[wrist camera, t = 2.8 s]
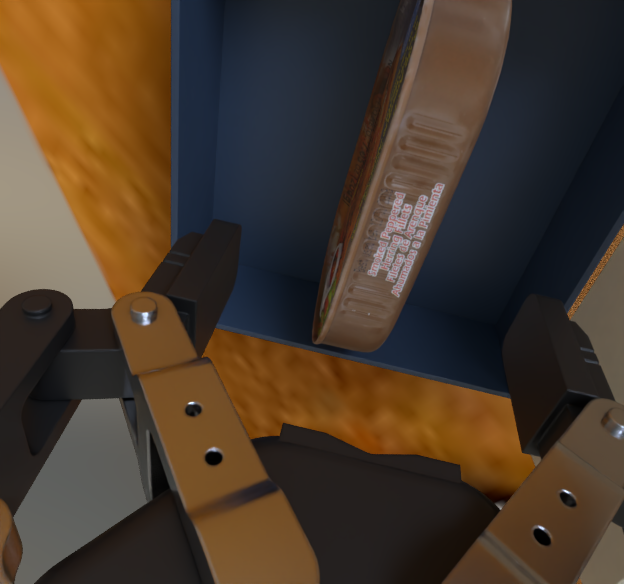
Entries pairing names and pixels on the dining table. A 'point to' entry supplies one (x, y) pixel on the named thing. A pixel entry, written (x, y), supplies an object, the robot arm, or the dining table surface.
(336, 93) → the carton
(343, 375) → the dining table surface
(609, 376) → the carton flap
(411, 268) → the tin
